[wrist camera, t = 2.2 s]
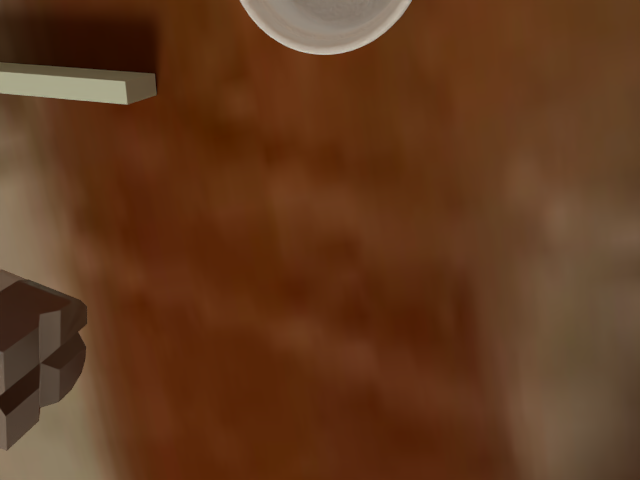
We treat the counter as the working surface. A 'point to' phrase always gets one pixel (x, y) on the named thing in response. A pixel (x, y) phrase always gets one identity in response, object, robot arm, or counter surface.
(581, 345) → the counter surface
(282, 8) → the ramekin
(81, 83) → the tray frame
